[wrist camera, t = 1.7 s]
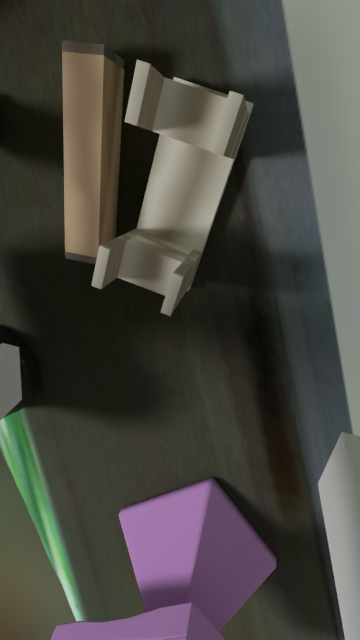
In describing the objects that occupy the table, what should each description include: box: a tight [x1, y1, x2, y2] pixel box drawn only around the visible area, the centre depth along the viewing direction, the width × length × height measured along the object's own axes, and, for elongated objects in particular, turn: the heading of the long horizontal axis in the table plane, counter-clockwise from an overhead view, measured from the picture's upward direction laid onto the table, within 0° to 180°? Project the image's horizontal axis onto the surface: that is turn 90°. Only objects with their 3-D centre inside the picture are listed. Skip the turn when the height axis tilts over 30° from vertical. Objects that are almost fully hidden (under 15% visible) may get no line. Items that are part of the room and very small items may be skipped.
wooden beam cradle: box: [91, 60, 253, 316], centre depth 33 cm, size 8×20×12 cm, turn 162°
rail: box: [62, 40, 125, 264], centre depth 37 cm, size 4×20×5 cm, turn 172°
